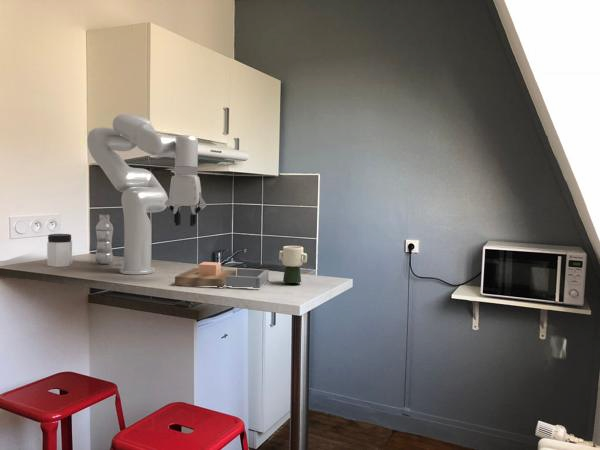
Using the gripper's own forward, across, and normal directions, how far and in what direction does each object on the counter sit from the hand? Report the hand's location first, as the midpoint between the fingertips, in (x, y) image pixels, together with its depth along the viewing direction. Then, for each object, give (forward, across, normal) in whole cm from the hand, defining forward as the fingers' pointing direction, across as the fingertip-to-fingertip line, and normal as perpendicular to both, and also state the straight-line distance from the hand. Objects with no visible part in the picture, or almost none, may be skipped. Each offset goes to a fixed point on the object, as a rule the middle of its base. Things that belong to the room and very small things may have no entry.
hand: (185, 225), depth 172 cm
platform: (+19, +8, 0) cm, 21 cm away
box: (+19, +22, 0) cm, 29 cm away
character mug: (+20, +37, +5) cm, 42 cm away
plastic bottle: (+20, -42, +24) cm, 52 cm away
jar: (+20, -56, +16) cm, 61 cm away
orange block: (+16, +9, 0) cm, 19 cm away
